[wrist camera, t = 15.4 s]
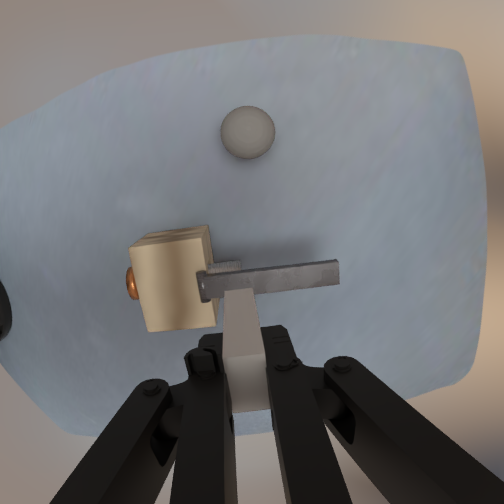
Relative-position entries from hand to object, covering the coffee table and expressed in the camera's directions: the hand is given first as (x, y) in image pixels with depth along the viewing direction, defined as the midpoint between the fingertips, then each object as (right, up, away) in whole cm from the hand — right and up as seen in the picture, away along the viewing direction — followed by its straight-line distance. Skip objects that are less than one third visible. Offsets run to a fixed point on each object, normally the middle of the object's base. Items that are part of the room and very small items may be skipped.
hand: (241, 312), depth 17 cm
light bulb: (0, +17, +20) cm, 27 cm away
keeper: (+2, +1, +16) cm, 16 cm away
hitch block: (-8, +1, +24) cm, 25 cm away
